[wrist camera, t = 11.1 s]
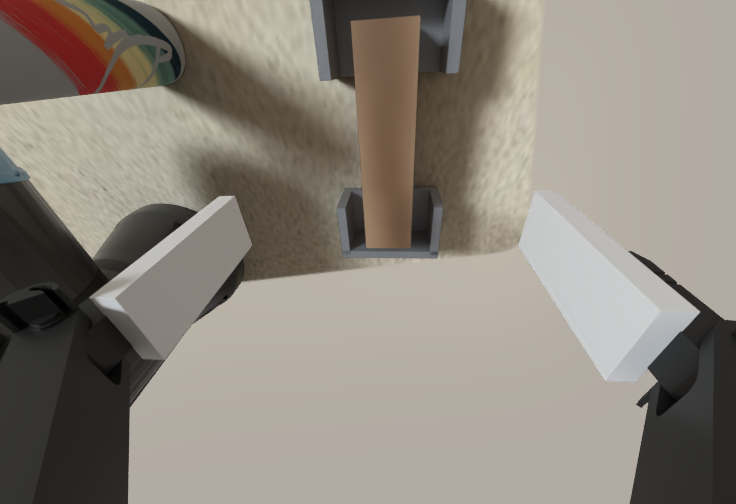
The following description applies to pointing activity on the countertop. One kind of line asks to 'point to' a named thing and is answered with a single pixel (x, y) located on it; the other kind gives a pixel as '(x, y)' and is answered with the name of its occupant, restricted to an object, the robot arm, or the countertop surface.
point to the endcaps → (436, 53)
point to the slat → (386, 124)
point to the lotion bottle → (84, 48)
